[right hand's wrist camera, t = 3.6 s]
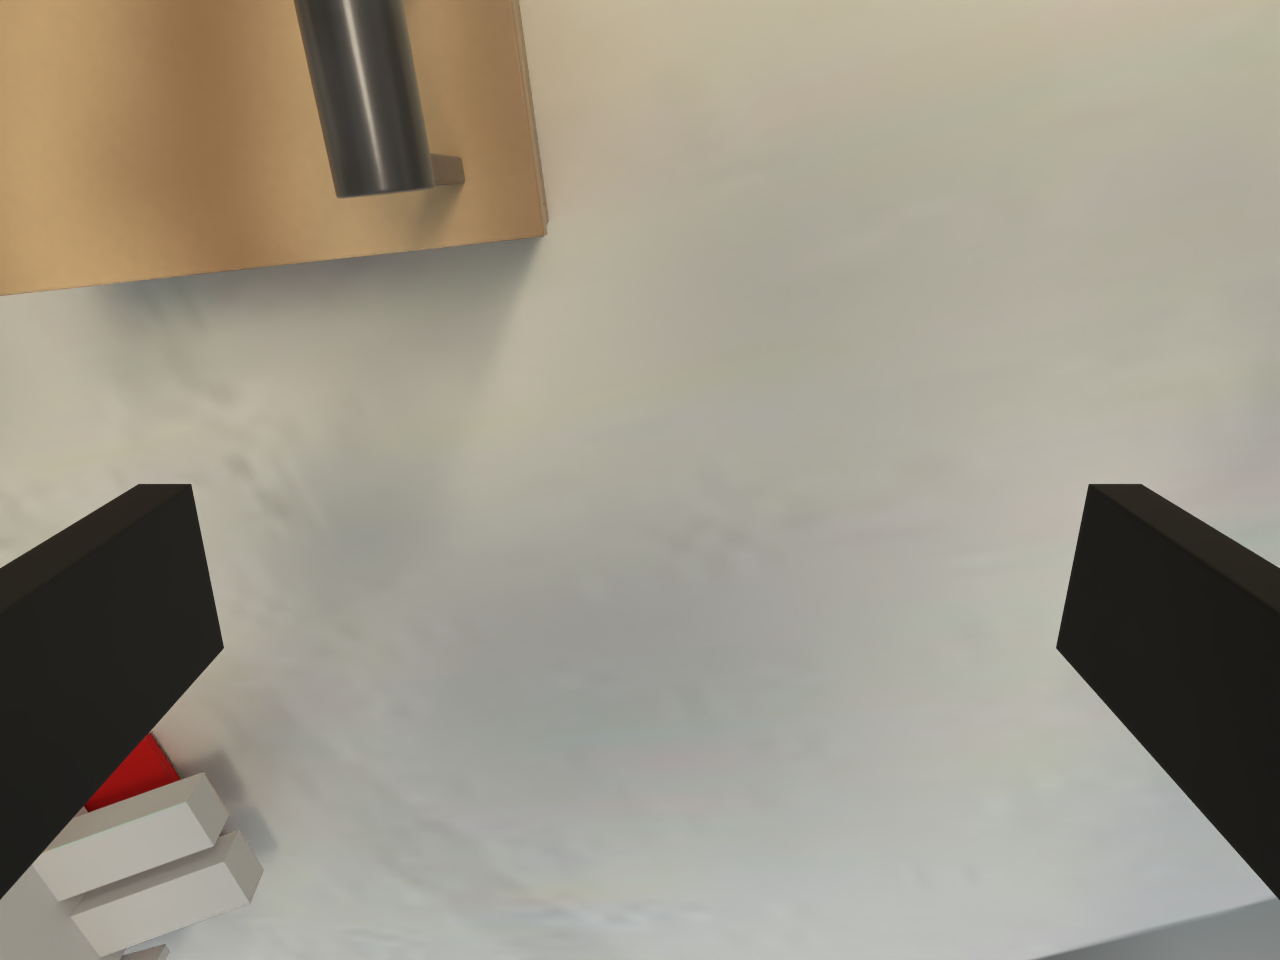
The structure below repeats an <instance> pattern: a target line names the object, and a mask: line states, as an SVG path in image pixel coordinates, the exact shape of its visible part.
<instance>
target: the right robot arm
mask: <svg viewBox="0 0 1280 960" xmlns="http://www.w3.org/2000/svg"><path fill="white" fill-rule="evenodd" d="M223 648H224V646H223V641H222V636H221V631H220V626H219V621H218V616H217V611H216V606H215V601H214V596H213V591H212V586H211V581H210V576H209V571H208V566H207V561H206V556H205V551H204V546H203V541H202V536H201V531H200V526H199V521H198V516H197V511H196V506H195V501H194V496H193V491H192V486H191V484H138V485H137V486H135V487H133V488H132V489H130V490H128V491H127V492H125V493H123V494H122V495H120V496H118V497H117V498H115V499H114V500H112V501H110V502H109V503H107V504H105V505H104V506H102V507H100V508H99V509H97V510H95V511H94V512H92V513H91V514H89V515H87V516H86V517H84V518H82V519H81V520H79V521H77V522H76V523H74V524H72V525H71V526H69V527H67V528H66V529H64V530H63V531H61V532H59V533H58V534H56V535H54V536H53V537H51V538H49V539H48V540H46V541H44V542H43V543H41V544H40V545H38V546H36V547H35V548H33V549H31V550H30V551H28V552H26V553H25V554H23V555H21V556H20V557H18V558H17V559H15V560H13V561H12V562H10V563H8V564H7V565H5V566H3V567H2V568H0V900H1V899H2V897H3V896H4V895H5V894H6V893H7V892H8V891H9V890H10V888H11V887H12V886H13V885H14V884H15V883H16V882H17V881H18V879H19V878H20V877H21V876H22V875H23V874H24V873H25V872H26V870H27V869H28V868H29V867H30V866H31V865H32V864H33V863H34V861H35V860H36V859H37V858H38V857H39V856H40V855H41V854H42V852H43V851H44V850H45V849H46V848H47V847H48V846H49V845H50V843H51V842H52V841H53V840H54V839H55V838H56V837H57V836H58V834H59V833H60V832H61V831H62V830H63V829H64V828H65V826H66V825H67V824H68V823H69V822H70V821H71V820H72V819H73V817H74V816H75V815H76V814H77V813H78V812H79V811H80V810H81V808H82V807H83V806H84V805H85V804H86V803H87V802H88V801H89V799H90V798H91V797H92V796H93V795H94V794H95V793H96V792H97V790H98V789H99V788H100V787H101V786H102V785H103V784H104V783H105V781H106V780H107V779H108V778H109V777H110V776H111V775H112V774H113V772H114V771H115V770H116V769H117V768H118V767H119V766H120V765H121V763H122V762H123V761H124V760H125V759H126V758H127V757H128V756H129V754H130V753H131V752H132V751H133V750H134V749H135V748H136V747H137V745H138V744H139V743H140V742H141V741H142V740H143V739H144V737H145V736H146V735H147V734H148V733H149V732H150V731H151V730H152V728H153V727H154V726H155V725H156V724H157V723H158V722H159V721H160V719H161V718H162V717H163V716H164V715H165V714H166V713H167V712H168V710H169V709H170V708H171V707H172V706H173V705H174V704H175V703H176V701H177V700H178V699H179V698H180V697H181V696H182V695H183V694H184V692H185V691H186V690H187V689H188V688H189V687H190V686H191V685H192V683H193V682H194V681H195V680H196V679H197V678H198V677H199V676H200V674H201V673H202V672H203V671H204V670H205V669H206V668H207V667H208V665H209V664H210V663H211V662H212V661H213V660H214V659H215V657H216V656H217V655H218V654H219V653H220V652H221V651H222V650H223ZM1056 648H1057V650H1058V651H1059V652H1060V653H1061V654H1062V655H1063V656H1064V657H1065V659H1066V660H1067V661H1068V662H1069V663H1070V664H1071V665H1072V667H1073V668H1074V669H1075V670H1076V671H1077V672H1078V673H1079V674H1080V676H1081V677H1082V678H1083V679H1084V680H1085V681H1086V682H1087V683H1088V685H1089V686H1090V687H1091V688H1092V689H1093V690H1094V691H1095V692H1096V694H1097V695H1098V696H1099V697H1100V698H1101V699H1102V700H1103V701H1104V703H1105V704H1106V705H1107V706H1108V707H1109V708H1110V709H1111V710H1112V712H1113V713H1114V714H1115V715H1116V716H1117V717H1118V718H1119V719H1120V721H1121V722H1122V723H1123V724H1124V725H1125V726H1126V727H1127V728H1128V730H1129V731H1130V732H1131V733H1132V734H1133V735H1134V736H1135V737H1136V739H1137V740H1138V741H1139V742H1140V743H1141V744H1142V745H1143V747H1144V748H1145V749H1146V750H1147V751H1148V752H1149V753H1150V754H1151V756H1152V757H1153V758H1154V759H1155V760H1156V761H1157V762H1158V763H1159V765H1160V766H1161V767H1162V768H1163V769H1164V770H1165V771H1166V772H1167V774H1168V775H1169V776H1170V777H1171V778H1172V779H1173V780H1174V781H1175V783H1176V784H1177V785H1178V786H1179V787H1180V788H1181V789H1182V790H1183V792H1184V793H1185V794H1186V795H1187V796H1188V797H1189V798H1190V799H1191V801H1192V802H1193V803H1194V804H1195V805H1196V806H1197V807H1198V808H1199V810H1200V811H1201V812H1202V813H1203V814H1204V815H1205V816H1206V817H1207V819H1208V820H1209V821H1210V822H1211V823H1212V824H1213V825H1214V826H1215V828H1216V829H1217V830H1218V831H1219V832H1220V833H1221V834H1222V836H1223V837H1224V838H1225V839H1226V840H1227V841H1228V842H1229V843H1230V845H1231V846H1232V847H1233V848H1234V849H1235V850H1236V851H1237V852H1238V854H1239V855H1240V856H1241V857H1242V858H1243V859H1244V860H1245V861H1246V863H1247V864H1248V865H1249V866H1250V867H1251V868H1252V869H1253V870H1254V872H1255V873H1256V874H1257V875H1258V876H1259V877H1260V878H1261V879H1262V881H1263V882H1264V883H1265V884H1266V885H1267V886H1268V887H1269V888H1270V890H1271V891H1272V892H1273V893H1274V894H1275V895H1276V896H1277V897H1278V899H1279V900H1280V568H1278V567H1277V566H1275V565H1273V564H1272V563H1270V562H1268V561H1267V560H1265V559H1263V558H1262V557H1260V556H1259V555H1257V554H1255V553H1254V552H1252V551H1250V550H1249V549H1247V548H1245V547H1244V546H1242V545H1240V544H1239V543H1237V542H1236V541H1234V540H1232V539H1231V538H1229V537H1227V536H1226V535H1224V534H1222V533H1221V532H1219V531H1217V530H1216V529H1214V528H1213V527H1211V526H1209V525H1208V524H1206V523H1204V522H1203V521H1201V520H1199V519H1198V518H1196V517H1194V516H1193V515H1191V514H1189V513H1188V512H1186V511H1185V510H1183V509H1181V508H1180V507H1178V506H1176V505H1175V504H1173V503H1171V502H1170V501H1168V500H1166V499H1165V498H1163V497H1162V496H1160V495H1158V494H1157V493H1155V492H1153V491H1152V490H1150V489H1148V488H1147V487H1145V486H1143V485H1142V484H1089V486H1088V491H1087V496H1086V501H1085V506H1084V511H1083V516H1082V521H1081V526H1080V531H1079V536H1078V541H1077V546H1076V551H1075V556H1074V561H1073V566H1072V571H1071V576H1070V581H1069V586H1068V591H1067V596H1066V601H1065V606H1064V611H1063V616H1062V621H1061V626H1060V631H1059V636H1058V641H1057V646H1056Z"/></svg>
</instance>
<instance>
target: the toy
mask: <svg viewBox="0 0 1280 960" xmlns="http://www.w3.org/2000/svg"><path fill="white" fill-rule="evenodd" d="M229 815H230V814H229V812H228V811H227V809H226V807H225V806H224V804H223V802H222V801H221V799H220V798H219V796H218V794H217V793H216V791H215V789H214V788H213V786H212V784H211V783H210V781H209V780H208V778H207V776H206V775H205V773H204V772H201V773H199V774H196V775H193V776H190V777H187V778H184V779H182V780H181V779H180V778H179V776H178V774H177V773H176V771H175V770H174V768H173V767H172V765H171V764H170V762H169V761H168V759H167V758H166V756H165V755H164V753H163V752H162V750H161V749H160V747H159V746H158V744H157V743H156V741H155V740H154V738H153V737H152V735H151V734H147V735H146V736H145V737H144V739H143V740H142V741H141V742H140V743H139V744H138V745H137V747H136V748H135V749H134V750H133V751H132V752H131V753H130V754H129V756H128V757H127V758H126V759H125V760H124V761H123V762H122V763H121V765H120V766H119V767H118V768H117V769H116V770H115V771H114V772H113V774H112V775H111V776H110V777H109V778H108V779H107V780H106V781H105V783H104V784H103V785H102V786H101V787H100V788H99V789H98V790H97V792H96V793H95V794H94V795H93V796H92V797H91V798H90V799H89V801H88V802H87V803H86V804H85V805H84V806H83V807H82V808H81V810H80V811H79V812H78V813H77V814H76V815H75V816H74V817H73V819H72V820H71V821H70V822H69V823H68V824H67V825H66V826H65V828H64V829H63V830H62V831H61V832H60V833H59V834H58V836H57V837H56V838H55V839H54V840H53V841H52V842H51V843H50V845H49V846H48V847H47V848H46V849H45V850H44V851H43V852H42V854H41V855H40V856H39V857H38V858H37V859H36V860H35V861H34V863H33V864H32V865H31V866H30V867H29V868H28V869H27V870H26V872H25V873H24V874H23V875H22V876H21V877H20V878H19V879H18V881H17V882H16V883H15V884H14V885H13V886H12V887H11V888H10V890H9V891H8V892H7V893H6V894H5V895H4V896H3V897H2V899H1V900H0V960H166V958H167V956H168V955H169V953H170V951H169V949H168V948H167V946H166V944H164V945H160V946H157V947H153V948H149V949H145V950H142V951H138V952H134V953H131V954H127V955H123V953H124V951H125V950H126V948H128V947H130V946H133V945H136V944H139V943H142V942H144V941H147V940H150V939H153V938H155V937H158V936H161V935H164V934H167V933H169V932H172V931H175V930H178V929H180V928H183V927H186V926H189V925H192V924H194V923H197V922H200V921H203V920H205V919H208V918H211V917H214V916H217V915H219V914H222V913H225V912H228V911H230V910H233V909H236V908H239V907H241V906H244V905H247V904H250V902H251V900H252V897H253V895H254V893H255V890H256V888H257V885H258V883H259V880H260V878H261V876H262V873H263V871H264V870H263V868H262V866H261V865H260V863H259V861H258V860H257V858H256V857H255V855H254V853H253V852H252V850H251V848H250V847H249V845H248V843H247V842H246V840H245V839H244V837H243V835H242V834H241V832H240V830H236V831H234V832H231V833H228V834H225V835H222V836H220V837H219V835H220V833H221V831H222V829H223V827H224V825H225V823H226V821H227V819H228V817H229ZM122 955H123V956H122Z"/></svg>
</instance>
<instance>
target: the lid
mask: <svg viewBox="0 0 1280 960" xmlns="http://www.w3.org/2000/svg"><path fill="white" fill-rule="evenodd" d="M545 235H547V228H546V221H545V214H544V206H543V199H542V192H541V185H540V177H539V170H538V163H537V156H536V148H535V141H534V134H533V126H532V119H531V112H530V105H529V97H528V90H527V83H526V76H525V68H524V61H523V54H522V46H521V39H520V32H519V25H518V17H517V10H516V3H515V0H0V296H4V295H13V294H23V293H32V292H41V291H50V290H59V289H68V288H78V287H87V286H96V285H105V284H114V283H123V282H132V281H142V280H151V279H160V278H169V277H178V276H187V275H197V274H206V273H215V272H224V271H233V270H242V269H251V268H261V267H270V266H279V265H288V264H297V263H306V262H316V261H325V260H334V259H343V258H352V257H361V256H370V255H380V254H389V253H398V252H407V251H416V250H425V249H435V248H444V247H453V246H462V245H471V244H480V243H489V242H499V241H508V240H517V239H526V238H535V237H543V236H545Z"/></svg>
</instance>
